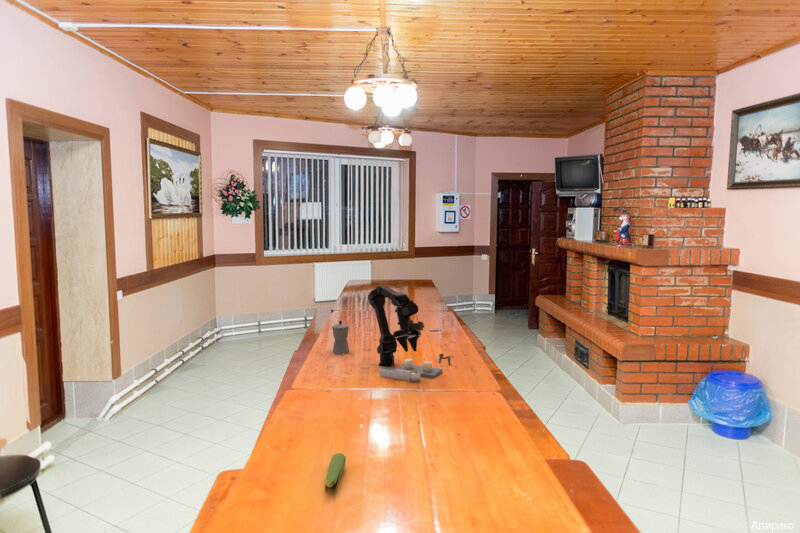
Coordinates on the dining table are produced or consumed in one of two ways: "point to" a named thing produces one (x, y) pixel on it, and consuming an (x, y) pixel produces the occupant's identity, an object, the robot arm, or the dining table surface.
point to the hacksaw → (444, 358)
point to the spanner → (400, 374)
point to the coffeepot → (340, 338)
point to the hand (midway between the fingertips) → (411, 351)
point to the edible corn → (334, 471)
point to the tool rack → (421, 368)
